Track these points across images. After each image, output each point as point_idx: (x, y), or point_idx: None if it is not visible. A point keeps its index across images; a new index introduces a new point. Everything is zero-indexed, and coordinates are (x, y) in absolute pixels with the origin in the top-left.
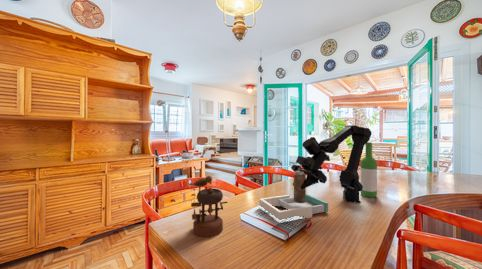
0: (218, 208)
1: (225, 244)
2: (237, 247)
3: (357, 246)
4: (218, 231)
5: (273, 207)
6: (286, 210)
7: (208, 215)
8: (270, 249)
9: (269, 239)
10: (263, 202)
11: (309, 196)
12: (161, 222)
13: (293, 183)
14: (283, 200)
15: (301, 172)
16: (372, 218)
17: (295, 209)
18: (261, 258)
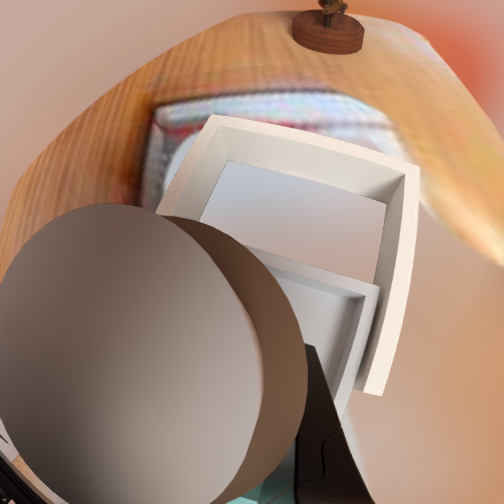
0: (325, 5)
1: (251, 36)
2: (225, 43)
3: (18, 225)
4: (294, 34)
5: (270, 128)
6: (198, 146)
7: (354, 26)
8: (168, 73)
9: (190, 85)
10: (371, 153)
11: None
12: (403, 28)
13: (307, 354)
14: (358, 316)
15: (10, 288)
16: None
17: (168, 187)
18: (168, 57)
